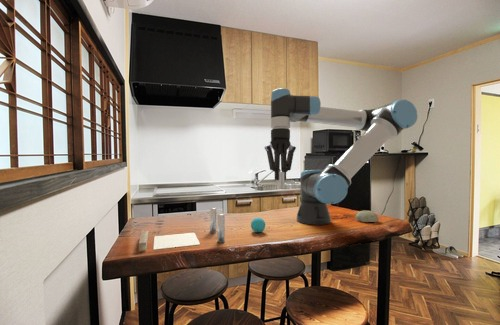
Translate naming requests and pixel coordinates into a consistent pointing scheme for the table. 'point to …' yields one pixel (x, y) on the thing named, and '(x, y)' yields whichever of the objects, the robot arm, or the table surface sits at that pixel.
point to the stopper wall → (143, 241)
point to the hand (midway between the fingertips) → (280, 188)
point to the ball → (258, 225)
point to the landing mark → (175, 241)
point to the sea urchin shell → (367, 216)
